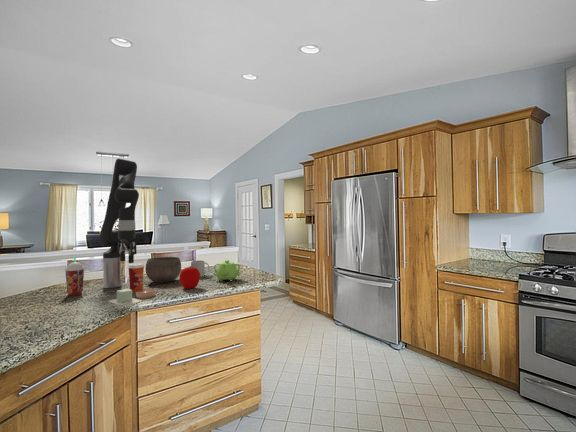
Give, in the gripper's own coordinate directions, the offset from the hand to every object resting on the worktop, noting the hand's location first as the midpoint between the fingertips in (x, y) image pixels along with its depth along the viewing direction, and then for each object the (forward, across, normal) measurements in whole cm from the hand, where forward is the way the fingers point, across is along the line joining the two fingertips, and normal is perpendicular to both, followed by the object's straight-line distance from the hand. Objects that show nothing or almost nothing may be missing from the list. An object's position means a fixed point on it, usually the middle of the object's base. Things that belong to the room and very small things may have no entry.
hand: (126, 262), depth 154 cm
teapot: (+19, -6, -60) cm, 63 cm away
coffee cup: (+19, +13, -12) cm, 26 cm away
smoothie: (+20, +34, +11) cm, 40 cm away
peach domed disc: (+18, -2, -8) cm, 20 cm away
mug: (+19, +20, -59) cm, 65 cm away
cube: (+18, -2, +2) cm, 18 cm away
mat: (+19, -3, -3) cm, 19 cm away
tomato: (+19, -5, -33) cm, 38 cm away
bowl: (+20, +24, -34) cm, 46 cm away
